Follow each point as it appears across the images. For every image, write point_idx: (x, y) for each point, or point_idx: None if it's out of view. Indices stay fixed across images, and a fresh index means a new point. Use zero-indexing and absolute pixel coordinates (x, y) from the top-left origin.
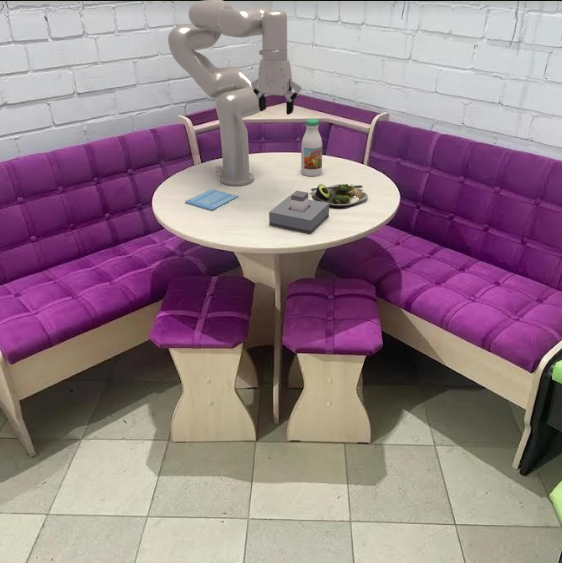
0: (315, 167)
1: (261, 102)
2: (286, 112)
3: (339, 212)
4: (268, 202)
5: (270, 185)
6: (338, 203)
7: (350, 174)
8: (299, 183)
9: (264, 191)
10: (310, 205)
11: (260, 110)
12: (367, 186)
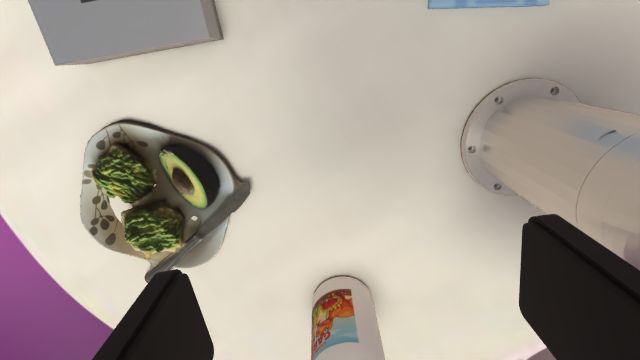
0: (317, 304)
1: (610, 290)
2: (178, 282)
3: (86, 109)
4: (313, 40)
5: (392, 162)
6: (111, 144)
7: (248, 341)
8: (325, 222)
9: (380, 111)
10: (85, 4)
11: (544, 216)
12: None
